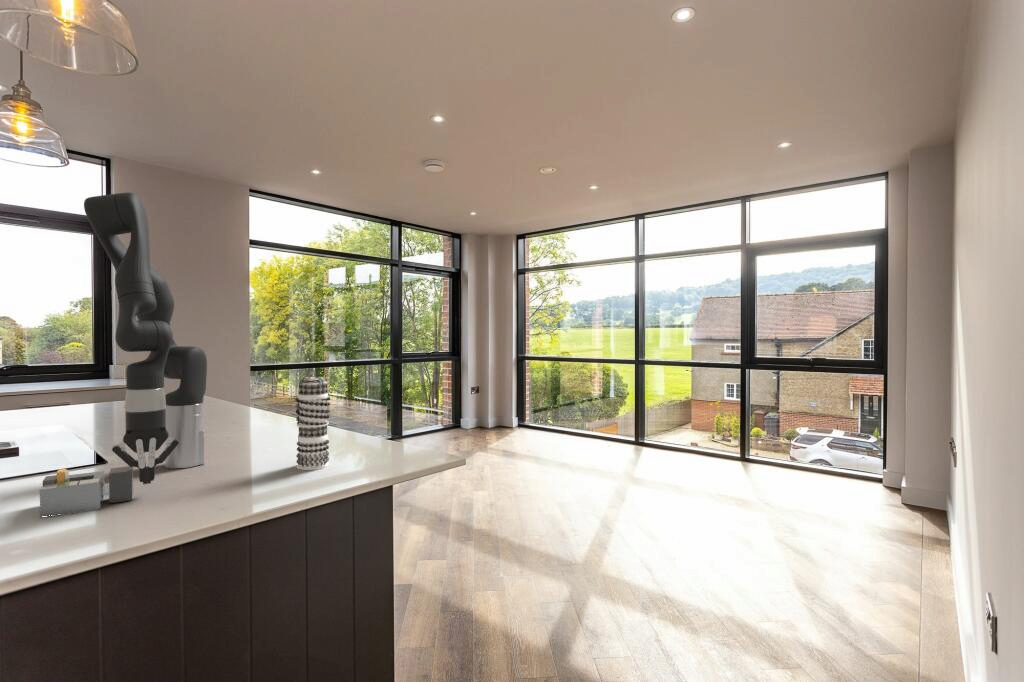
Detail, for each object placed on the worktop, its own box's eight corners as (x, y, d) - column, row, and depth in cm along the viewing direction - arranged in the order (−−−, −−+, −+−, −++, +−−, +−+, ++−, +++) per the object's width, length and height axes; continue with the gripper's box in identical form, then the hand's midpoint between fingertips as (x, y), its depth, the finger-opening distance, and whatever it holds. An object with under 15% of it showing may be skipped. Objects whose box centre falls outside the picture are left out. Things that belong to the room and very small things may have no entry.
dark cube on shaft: (133, 493, 118) (132, 461, 118) (132, 499, 114) (131, 466, 114) (67, 502, 112) (67, 468, 112) (64, 509, 108) (63, 474, 107)
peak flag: (66, 500, 111) (66, 468, 111) (64, 504, 108) (64, 471, 108) (59, 501, 110) (58, 469, 110) (57, 505, 108) (56, 472, 108)
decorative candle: (326, 469, 141) (327, 379, 140) (291, 470, 139) (291, 379, 138) (333, 461, 150) (333, 375, 149) (299, 462, 148) (300, 375, 147)
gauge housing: (104, 496, 117) (104, 466, 117) (100, 509, 109) (99, 477, 109) (49, 503, 112) (48, 472, 112) (40, 518, 104) (39, 484, 103)
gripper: (180, 403, 124) (180, 474, 124) (110, 408, 116) (111, 483, 117) (180, 407, 118) (181, 482, 118) (107, 412, 110) (109, 492, 111)
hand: (147, 483), depth 117 cm, fingers closed
